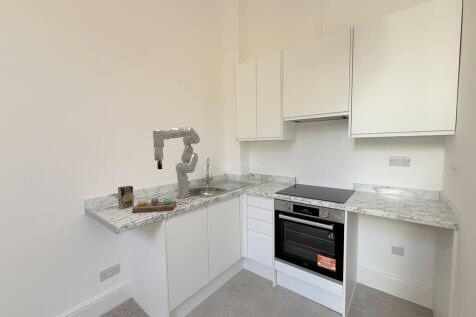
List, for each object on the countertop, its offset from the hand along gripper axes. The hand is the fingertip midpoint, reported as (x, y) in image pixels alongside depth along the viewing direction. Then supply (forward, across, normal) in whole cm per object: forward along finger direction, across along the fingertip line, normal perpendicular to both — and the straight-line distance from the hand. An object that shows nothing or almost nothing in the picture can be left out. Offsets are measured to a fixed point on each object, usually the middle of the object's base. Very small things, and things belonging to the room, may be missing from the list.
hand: (159, 169), depth 163 cm
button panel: (+29, +8, -3) cm, 30 cm away
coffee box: (+29, -2, -27) cm, 40 cm away
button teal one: (+26, +8, +6) cm, 28 cm away
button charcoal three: (+25, +8, -3) cm, 26 cm away
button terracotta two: (+26, +8, -12) cm, 29 cm away
